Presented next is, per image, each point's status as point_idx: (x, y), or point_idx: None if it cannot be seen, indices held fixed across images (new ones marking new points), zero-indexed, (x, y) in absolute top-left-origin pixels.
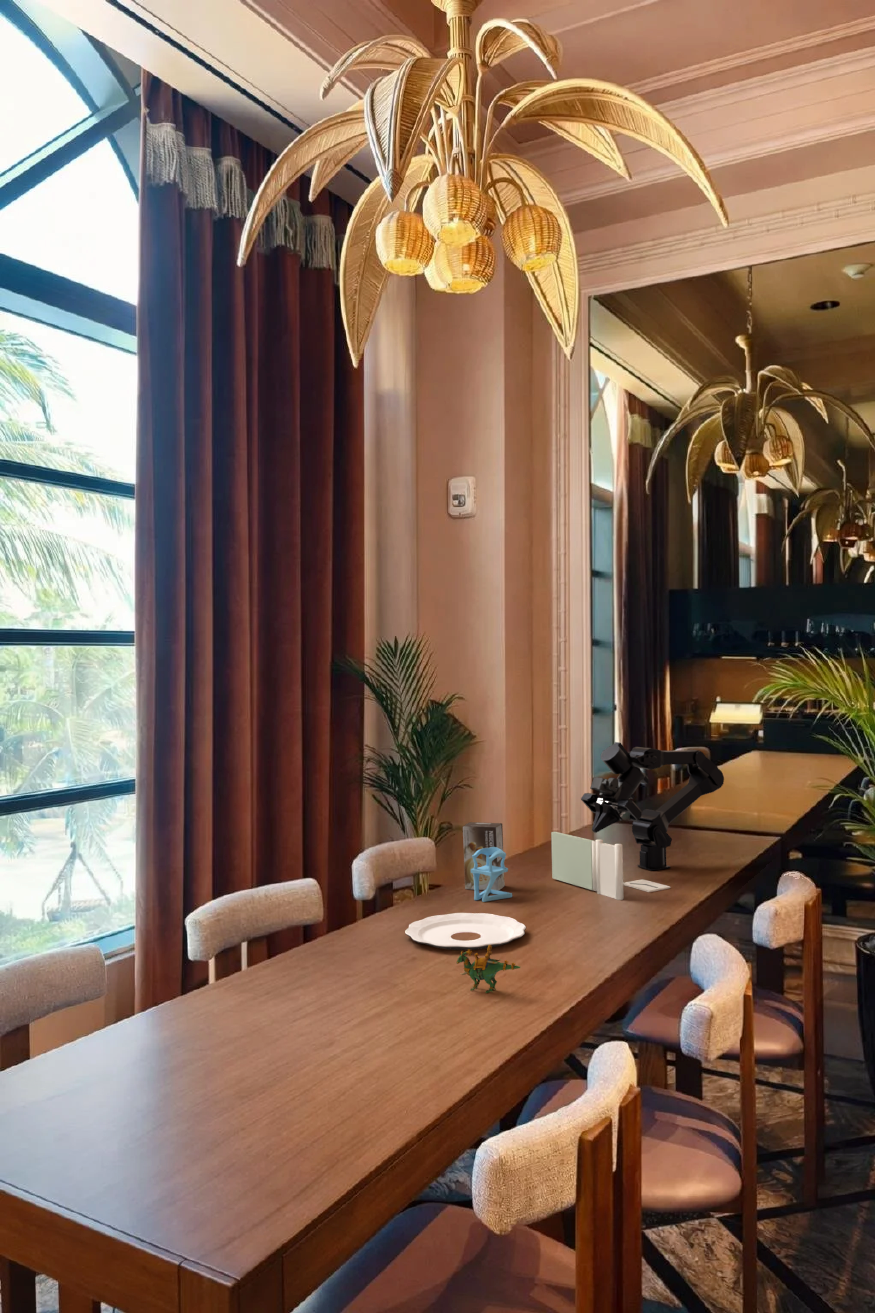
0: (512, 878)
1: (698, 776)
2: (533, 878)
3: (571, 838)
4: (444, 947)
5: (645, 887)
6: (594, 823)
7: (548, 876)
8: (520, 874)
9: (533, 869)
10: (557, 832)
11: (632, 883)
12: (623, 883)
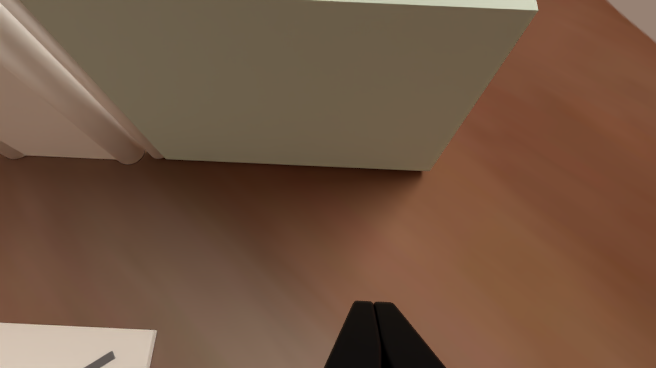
0: (530, 68)
1: None
2: (490, 120)
3: None
4: None
5: (4, 356)
6: (417, 360)
7: (492, 184)
8: (580, 124)
9: (652, 221)
10: (492, 2)
11: (98, 361)
12: (139, 329)
